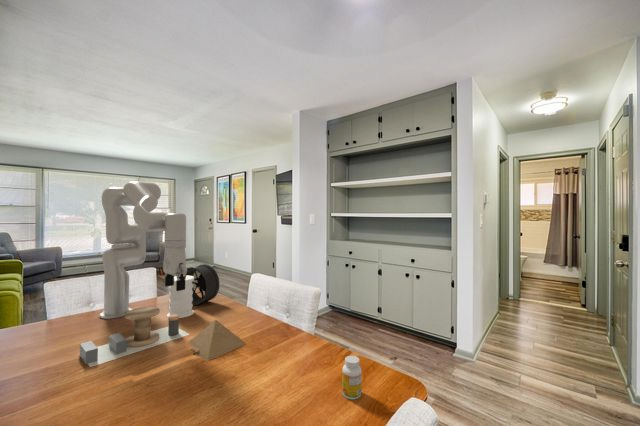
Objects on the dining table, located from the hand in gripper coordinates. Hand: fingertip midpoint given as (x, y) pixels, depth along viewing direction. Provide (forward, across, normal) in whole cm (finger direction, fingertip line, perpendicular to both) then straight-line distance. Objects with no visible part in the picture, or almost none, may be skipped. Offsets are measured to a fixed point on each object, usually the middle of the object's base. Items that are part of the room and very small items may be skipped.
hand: (174, 288), depth 111 cm
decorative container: (+19, -21, +12) cm, 31 cm away
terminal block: (+18, -3, -22) cm, 29 cm away
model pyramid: (+20, +17, +7) cm, 28 cm away
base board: (+19, -3, -12) cm, 23 cm away
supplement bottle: (+21, +71, +17) cm, 76 cm away
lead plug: (+18, -1, 0) cm, 18 cm away
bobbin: (+18, -4, -10) cm, 21 cm away
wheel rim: (+19, -33, +27) cm, 46 cm away
